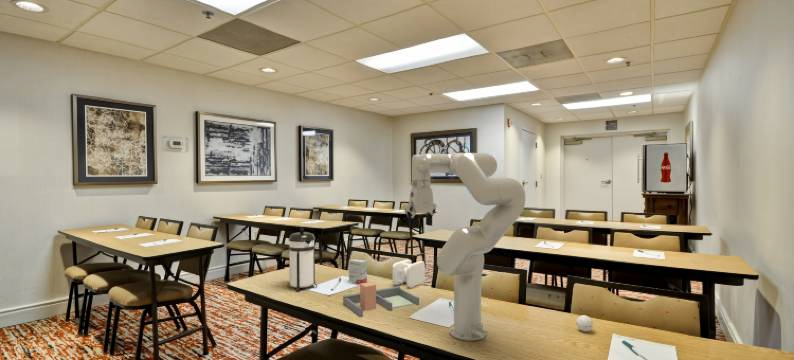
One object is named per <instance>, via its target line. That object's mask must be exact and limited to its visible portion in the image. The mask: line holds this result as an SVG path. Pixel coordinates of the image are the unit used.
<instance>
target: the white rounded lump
mask: <svg viewBox="0 0 794 360" xmlns="http://www.w3.org/2000/svg"><path fill="white" fill-rule="evenodd" d="M575 324H576V326H577V328H578V330H580V331H581V332H590V331H592V329H593V328H594V321H593V320H592V318H591V317H590V316H588V315H585V314H583V315H582V314H581V315H579V316H578V317H577V318H576V321H575Z"/></svg>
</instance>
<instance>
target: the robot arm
mask: <svg viewBox="0 0 794 360" xmlns="http://www.w3.org/2000/svg"><path fill="white" fill-rule="evenodd" d="M497 170H498V161H497V160H496V158H495V157H494V156H492V155H491V154H489V153H485V152H484V153H483V152H457V153H455V154H451V153H424V154H423V153H421V154H414V155H413V156H412V158H411V182H410V185H411V188H410V191H409V198H408V199H409V200H408V203H407V204H406V205H405V206H403V210H404V212H405V214H406V216H407V218H408V227H409V228H411V229H414V228H415V227H416V217H415V216H416V215H417V214H425V213H426V215H425V225H426V226H430V227H431V226H433V217H434V216H435V215H434V214H435V212H436V209H437V204H435V203H434V194H433V189H432V187H431V174H439V173H440V174H454V175H455V176H456V177H458V178H459V179H460V180H461V182H462V184H463V185H464V187H465V188H466V189H467V191H468V192H469V193H470V195H471V197H472V198H473V199H474V200H475V201H476V202H477V203H478V204H480V205H483V206H494V207H492V208H491V209H490V210H489V211H487V212H486V213H485V214H484V215H483V218H482V219H481V220H480V221H479V222H478V223H477V224H475V225H469V226H468V225H467V226H462V227H460V228H457V229H456V230H455V231H454V232H453V233H452V234H451V235H450V236H449V238H448V240H447V241H446V242H445V244H443V246H442V248H441V249H440V251H439V252H438V255H437V259H436V265H437V268H438V270H439V271H440V273H441V274H443V275H444V276H448V277H454V276H455V278H454V283H453V325H451V327H450V328H449V334H450V335H451V336H452V337H453V338H455V339H458V340H461V341H467V342H469V341H471V342H474V341H480V340H483V339H484V338H485V337H486V336H487V335H488V331H487V330H485V328H484V323H482V281H483V278H482V277H483V270H484V265H485V255H484V254H487V253H489V252H491V251H492V250H493V249H494V248H495V246H496V245H497V244H498V243H499V242H500V240H501V239H502V238H503V237H504V236H505V234H506V233H507V232H508V230H509V229H510V228H511V227H512V225H514V224H515V222H516V221H517V220H518V219H519V218H520V216H521V214H522V213H523V211H524V208H525V206H526V205H525V204H526V191H525V188H524V186H523V185H522V183H521V182H519V181H518V180H517V179H515V178H511V177H492V176H494V174H495V173H496V172H497Z"/></svg>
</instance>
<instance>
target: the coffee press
mask: <svg viewBox="0 0 794 360" xmlns="http://www.w3.org/2000/svg"><path fill="white" fill-rule="evenodd" d="M315 240H316V236H314V234H313V233H311V232H308V231H305V229H304V227H300V228H299V232H294V233H291V234H290V235H289V238H288V243H289V245H288V251H289V252H288V253H289V256H288V257H289V259H288V260H289V261H288V262H289V282H288V284H287V288H288V287H290V288H291V287H293V288H296V289H295V292H297V293H299V292H300V290H301V288H308V287H312V288H314V287H316V288H317V287H318V284H317V283H316V275H315V273H316V272H315V271H316V269H315V267H316V266H315V265H316V264H315V262H316V261H315V259H316V258H315V257H316V254H315V249H316V246H315ZM289 285H290V286H289Z"/></svg>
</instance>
